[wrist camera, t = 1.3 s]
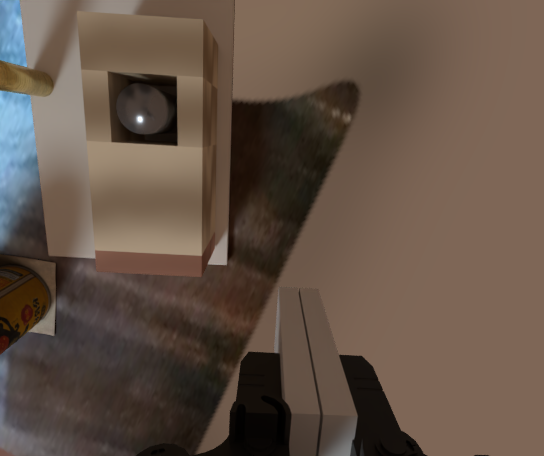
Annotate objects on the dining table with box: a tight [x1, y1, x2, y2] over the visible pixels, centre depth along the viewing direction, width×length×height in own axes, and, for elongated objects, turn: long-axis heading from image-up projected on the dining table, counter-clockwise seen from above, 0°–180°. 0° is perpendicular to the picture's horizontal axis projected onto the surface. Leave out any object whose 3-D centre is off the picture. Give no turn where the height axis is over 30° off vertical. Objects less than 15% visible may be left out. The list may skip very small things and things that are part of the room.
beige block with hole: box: [77, 11, 218, 277], centre depth 25 cm, size 16×7×6 cm, turn 177°
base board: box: [20, 0, 235, 265], centre depth 28 cm, size 22×15×1 cm
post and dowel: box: [0, 60, 178, 134], centre depth 24 cm, size 4×12×8 cm, turn 87°
